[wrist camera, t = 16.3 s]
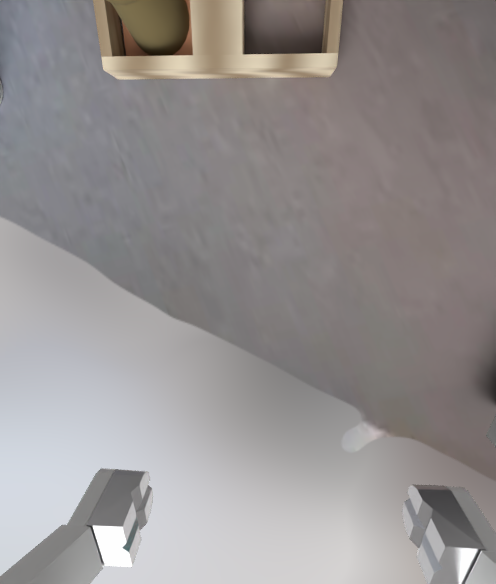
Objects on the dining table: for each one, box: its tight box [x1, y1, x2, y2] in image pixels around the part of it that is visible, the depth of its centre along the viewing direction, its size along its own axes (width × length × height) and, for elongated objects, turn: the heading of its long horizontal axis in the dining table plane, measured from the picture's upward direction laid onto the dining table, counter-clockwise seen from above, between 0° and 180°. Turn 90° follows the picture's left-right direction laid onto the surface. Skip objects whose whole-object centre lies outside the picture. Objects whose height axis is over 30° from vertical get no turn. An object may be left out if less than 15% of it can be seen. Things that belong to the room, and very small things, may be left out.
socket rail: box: [93, 0, 343, 79], centre depth 27 cm, size 22×10×3 cm, turn 90°
